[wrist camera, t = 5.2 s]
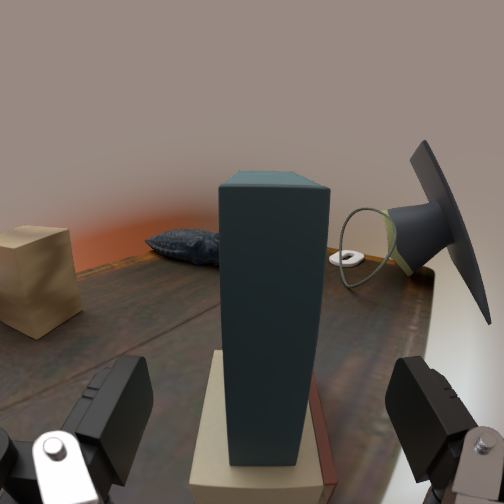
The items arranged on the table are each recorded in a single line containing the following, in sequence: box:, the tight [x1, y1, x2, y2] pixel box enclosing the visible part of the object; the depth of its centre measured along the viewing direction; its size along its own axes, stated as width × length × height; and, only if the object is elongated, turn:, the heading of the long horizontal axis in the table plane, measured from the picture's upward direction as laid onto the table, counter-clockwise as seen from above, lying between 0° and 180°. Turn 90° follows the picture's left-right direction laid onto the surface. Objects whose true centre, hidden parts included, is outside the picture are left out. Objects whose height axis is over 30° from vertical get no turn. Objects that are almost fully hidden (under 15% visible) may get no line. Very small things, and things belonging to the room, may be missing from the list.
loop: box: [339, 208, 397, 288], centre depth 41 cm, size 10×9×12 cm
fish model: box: [145, 229, 220, 266], centre depth 53 cm, size 7×21×5 cm, turn 54°
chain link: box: [329, 250, 364, 267], centre depth 53 cm, size 8×1×5 cm
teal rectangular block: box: [218, 171, 331, 466], centre depth 15 cm, size 3×9×13 cm, turn 179°
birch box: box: [0, 225, 82, 340], centre depth 30 cm, size 8×10×10 cm
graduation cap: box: [381, 140, 491, 325], centre depth 43 cm, size 28×23×10 cm
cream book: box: [189, 350, 338, 504], centre depth 18 cm, size 12×7×3 cm, turn 179°
